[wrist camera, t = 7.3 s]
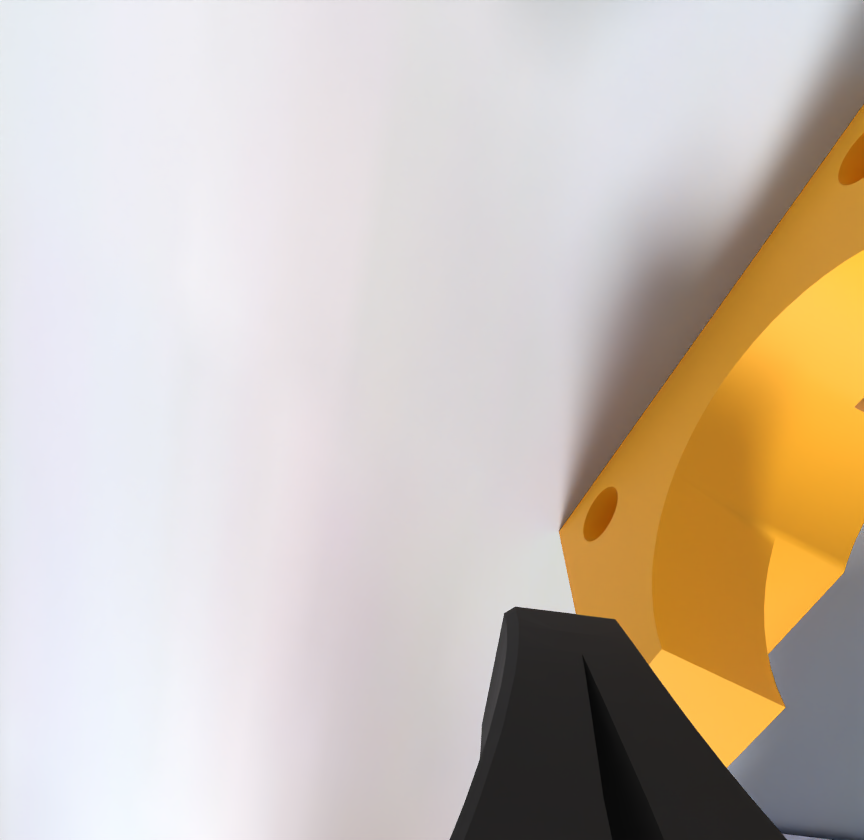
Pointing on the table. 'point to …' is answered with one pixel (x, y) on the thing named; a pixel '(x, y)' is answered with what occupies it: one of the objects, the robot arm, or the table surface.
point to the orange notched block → (742, 471)
